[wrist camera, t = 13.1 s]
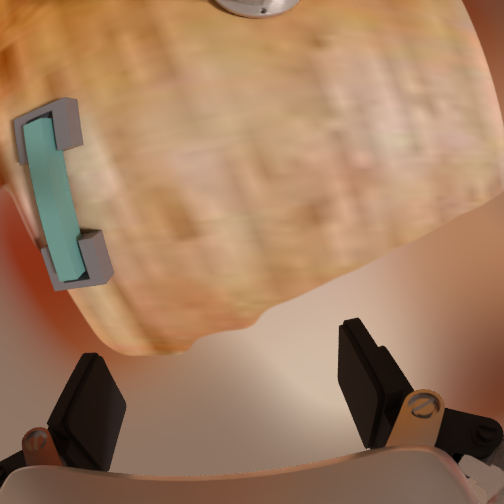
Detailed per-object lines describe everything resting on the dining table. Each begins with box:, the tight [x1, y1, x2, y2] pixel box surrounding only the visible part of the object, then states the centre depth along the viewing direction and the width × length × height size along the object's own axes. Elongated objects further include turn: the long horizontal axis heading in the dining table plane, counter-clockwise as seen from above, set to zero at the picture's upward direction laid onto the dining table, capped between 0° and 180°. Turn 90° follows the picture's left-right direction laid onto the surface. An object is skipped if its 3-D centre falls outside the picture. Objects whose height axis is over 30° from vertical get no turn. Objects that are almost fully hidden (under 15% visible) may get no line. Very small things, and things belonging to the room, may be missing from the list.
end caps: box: [14, 97, 114, 291], centre depth 36 cm, size 25×9×4 cm, turn 8°
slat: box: [23, 118, 87, 282], centre depth 34 cm, size 21×3×4 cm, turn 8°
